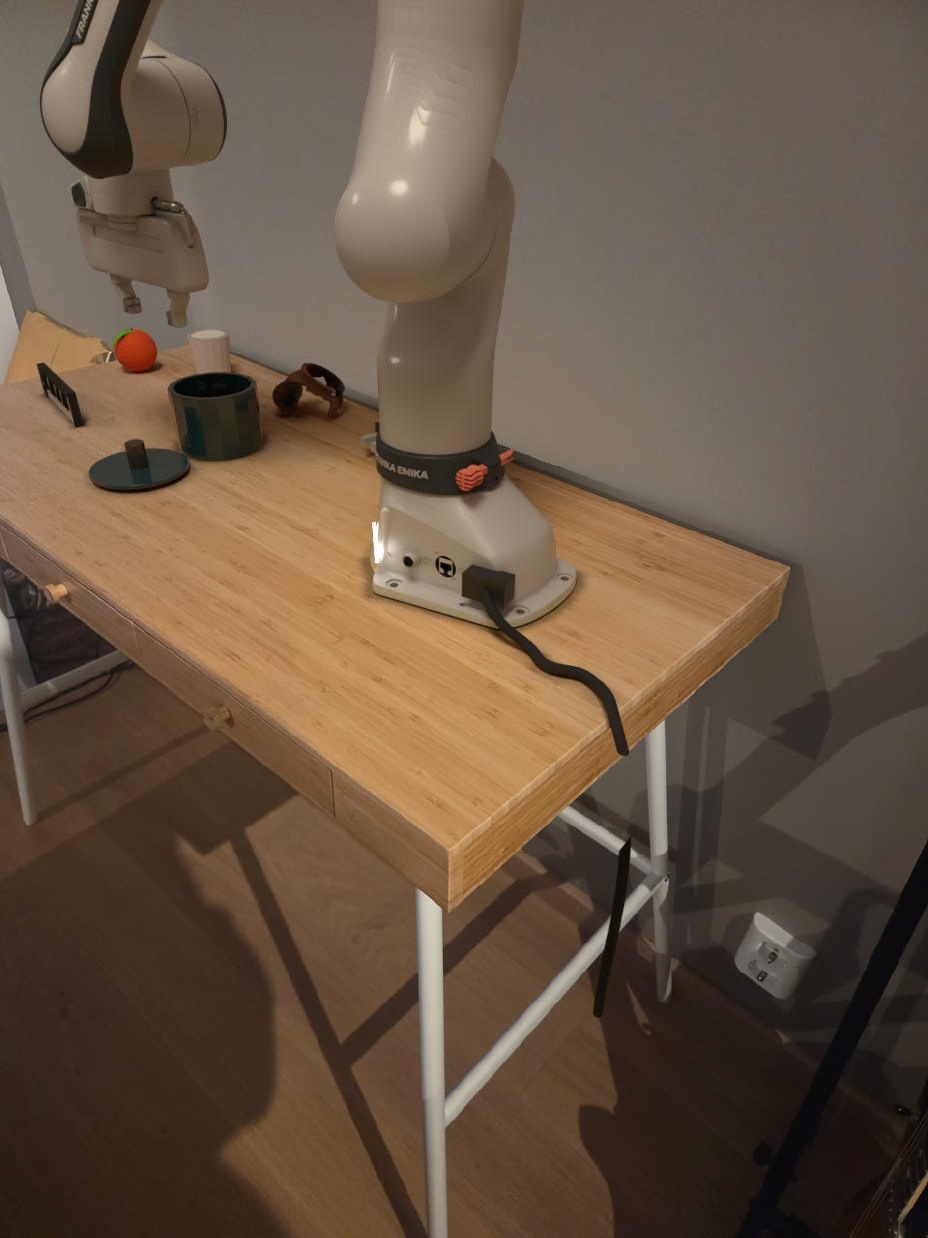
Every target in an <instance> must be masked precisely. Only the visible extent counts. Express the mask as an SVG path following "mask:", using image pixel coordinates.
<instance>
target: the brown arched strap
mask: <svg viewBox="0 0 928 1238" xmlns="http://www.w3.org/2000/svg"><path fill="white" fill-rule="evenodd" d="M316 378H317V379H318V378H319V379H320V378H323V379H324V381H325V384H324V383H322V382H321V381H319V380H317V379H316ZM304 387H305V391H306V392H309V393H311V394H312V395H314V396H316V397H320V398H321V399H322V400H324V401H327V402H329V409H328V411H327V417H328V418H331V419H334V418H335V417H336V415H338V413H339V410H342V407H343V404H344V396H343V393H344V392H345V390H346V387H345V384H344V382H343V381H342V380H341V378H340V377H339V376H338V375H336V374H335V373H333V371H331V370H329V369H328V368H326V367H324V366H321V365H319V364H317V363H313V362H304V363H302V364H301V367H300V368H299V369H297V370H294V371H292V372H290V373H289V374H288V375H287V377H285V380H284V381H281V382H279V383H278V384H277V385H275V387H274V388H273V390H272V394H271V396H272V400H273V403H274V405H275V407H277V412H278V414H279V415H280V416H281V417H284V415H285V416H291V417H293V416H295V415H296V408H297V405H298V403H299V401H300V399H301V397H302V396H303V392H304ZM333 393H334V394H333Z"/></svg>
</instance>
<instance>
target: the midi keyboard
mask: <svg viewBox="0 0 928 1238" xmlns="http://www.w3.org/2000/svg"><path fill="white" fill-rule="evenodd" d="M36 369H37V372H38V375H39V377H40V378H39V379H40V383H41V387H42V391H43V394H44V396H45V397H46V398H47V399H50V400H51V401H52V402H53V404H54V405H55V406H56V407H58V409H59V410H60V411H61V412H62V413H63V414H64V415H65V416H66V417H67V418H68V420H70V421H71V422H72V423H73V424H74V427H75V428H79V427H83V426H84V425H85V424H84V420H83V417H82V412H81V409H80V404H79V401H78V397H77V396H78V395H77V393H76V391H74V390H73V388H71V387H70V386H69V384H67V383H66V382H65V381H64V380H63V379H62V378H61V377H60V376H59V375H58V374H57V373H56V372H55V371H53V369H52V368H51V367H49V366H48V365H47V364H46V363H45V362H38V363H36Z"/></svg>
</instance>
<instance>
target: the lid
mask: <svg viewBox="0 0 928 1238" xmlns="http://www.w3.org/2000/svg"><path fill="white" fill-rule="evenodd" d="M123 445H124V451H120V452H116V453H113V454H110V455H107V456H105V457H102V458H100V459H99V460H97V461H96V462H94V463H93V464H92V465H91V466H90V468H89V470H88V476H89V480H90V481H91V482H92V483H93V484H95V485H96V486H99V487H102V488H106V489H111V490H140V489H146V488H153V487H157V486H161V485H164V484H167V483H170V482H173V481H175V480H177V479H179V478H180V477H181V476H183V475H184V474H185V473H186V472H187V471H188V470H189V467H190V464H189V459H188V457H187V456H185V455H183V454H182V453H181V452H180V451H177V450H172V449H167V448H159V447H157V448H156V447H154V448H153V447H152V448H151V447H147V448H146V445H145V441H144V440H143V439H139V438H133V439H129V440H127V441H124V443H123Z"/></svg>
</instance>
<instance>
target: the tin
mask: <svg viewBox="0 0 928 1238" xmlns="http://www.w3.org/2000/svg"><path fill="white" fill-rule="evenodd" d="M257 383H258V382H257V381H256V380H255V379H254V378H253V377H252V376H249V375H246V374H243V373H240V372H232V371H231V372H209V373H201V374H196V373H195V374H191V375H187V376H183V377H180V378H178V379H176V380H174V381H173V382H170V383H169V385H168V386H167V395H168V401H169V406H170V411H171V416H172V421H173V427H174V432H175V438H176V443H177V446H178V449H179V453H181V454H183V455H185V456H186V458H190V459H192V460H193V459H194V460H198V461H206V462H218V461H219V462H220V461H230V460H236V459H239V458H244V457H247V456H249V455H251V454H253V453H256V452H257V451H259V450H260V449H261V448H262V446H263V444H264V433H263V425H262V414H261V409H260V408H261V407H260V399H259V392H258V384H257Z"/></svg>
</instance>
